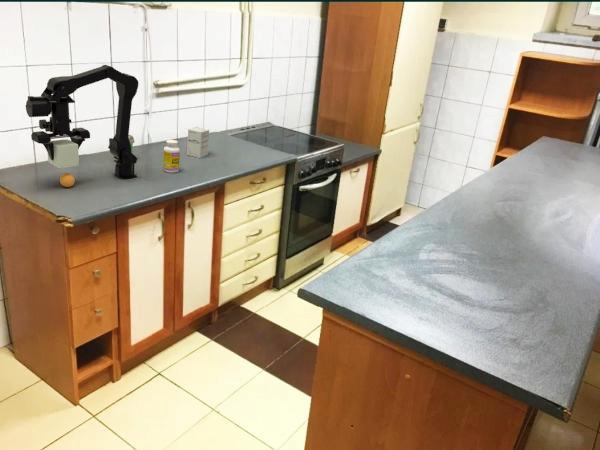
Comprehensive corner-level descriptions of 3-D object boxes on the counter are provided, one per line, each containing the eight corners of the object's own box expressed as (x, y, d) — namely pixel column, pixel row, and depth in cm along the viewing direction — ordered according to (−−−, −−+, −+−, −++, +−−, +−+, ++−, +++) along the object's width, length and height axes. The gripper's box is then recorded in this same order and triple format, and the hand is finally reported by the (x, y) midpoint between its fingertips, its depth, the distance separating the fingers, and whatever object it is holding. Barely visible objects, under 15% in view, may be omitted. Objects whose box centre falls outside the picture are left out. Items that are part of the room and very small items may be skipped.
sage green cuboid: (68, 159, 191) (67, 139, 188) (78, 165, 187) (78, 144, 184) (48, 162, 185) (46, 141, 182) (58, 168, 181) (57, 146, 178)
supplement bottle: (171, 174, 215) (172, 144, 210) (159, 170, 218) (160, 140, 213) (182, 171, 220) (183, 141, 215) (171, 167, 223) (171, 138, 218)
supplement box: (186, 155, 242) (187, 128, 237) (195, 152, 249) (196, 126, 244) (199, 158, 240) (201, 132, 235) (208, 155, 247) (209, 129, 242)
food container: (125, 164, 219) (125, 141, 215) (112, 162, 219) (111, 139, 216) (139, 157, 230) (139, 135, 226) (126, 155, 231) (126, 133, 227)
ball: (73, 170, 187) (78, 182, 187) (68, 175, 191) (73, 187, 190) (60, 172, 183) (65, 185, 183) (55, 177, 187) (60, 190, 187)
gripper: (74, 109, 191) (76, 149, 197) (22, 112, 177) (26, 156, 183) (90, 115, 184) (91, 157, 191) (37, 119, 171) (40, 164, 177)
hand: (63, 158), depth 185 cm, fingers closed on sage green cuboid, 7 cm apart
